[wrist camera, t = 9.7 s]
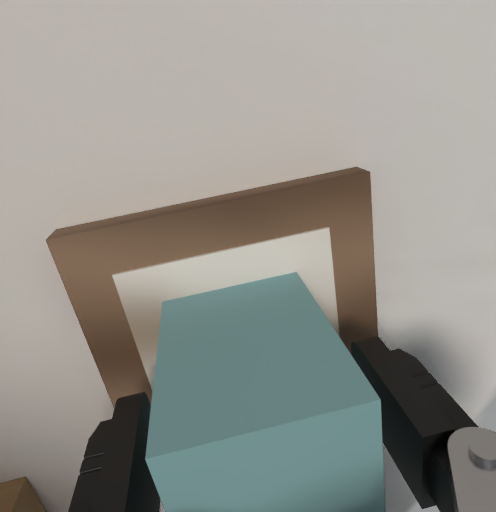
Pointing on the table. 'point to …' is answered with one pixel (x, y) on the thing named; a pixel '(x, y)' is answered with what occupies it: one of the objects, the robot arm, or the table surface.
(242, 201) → the brown framed white board
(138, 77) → the table surface
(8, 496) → the ochre block
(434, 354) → the table surface
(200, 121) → the table surface
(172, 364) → the teal block
